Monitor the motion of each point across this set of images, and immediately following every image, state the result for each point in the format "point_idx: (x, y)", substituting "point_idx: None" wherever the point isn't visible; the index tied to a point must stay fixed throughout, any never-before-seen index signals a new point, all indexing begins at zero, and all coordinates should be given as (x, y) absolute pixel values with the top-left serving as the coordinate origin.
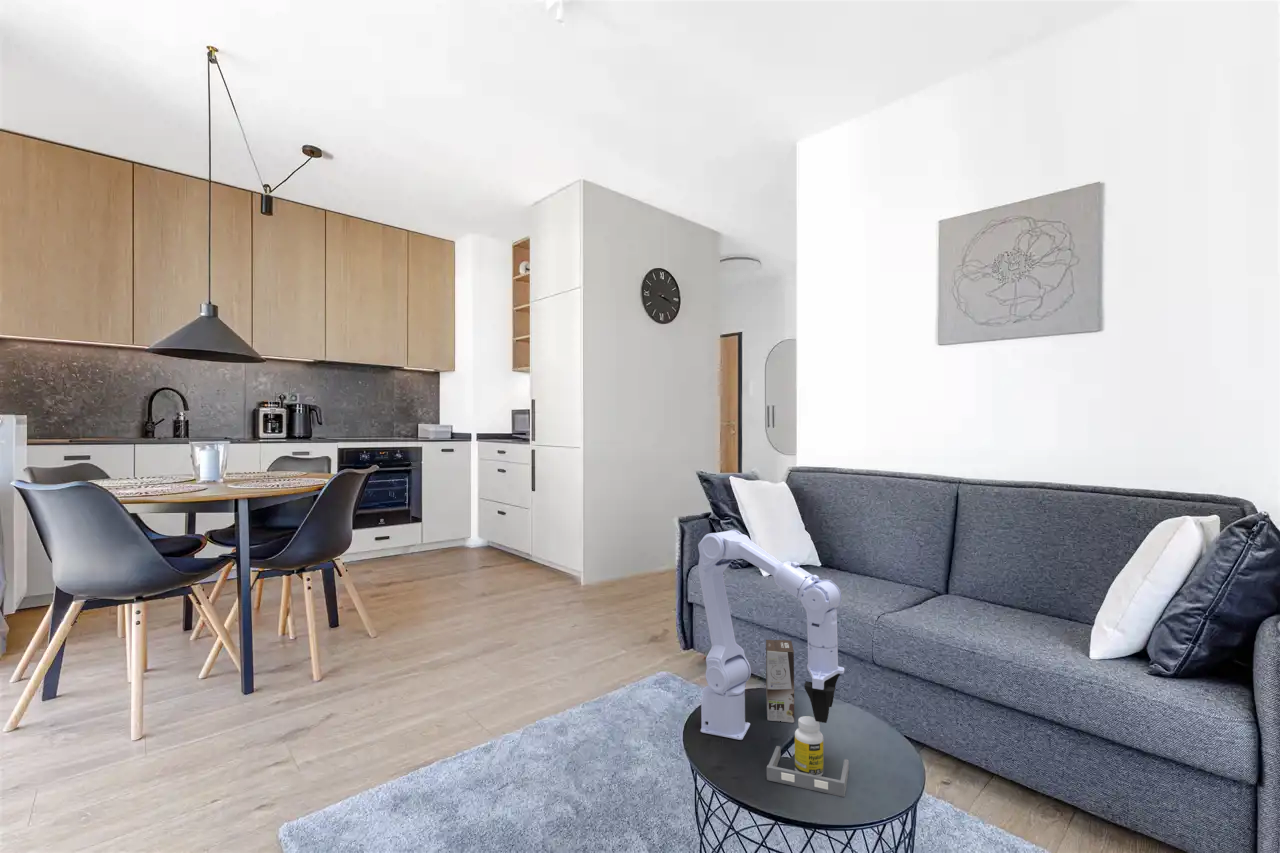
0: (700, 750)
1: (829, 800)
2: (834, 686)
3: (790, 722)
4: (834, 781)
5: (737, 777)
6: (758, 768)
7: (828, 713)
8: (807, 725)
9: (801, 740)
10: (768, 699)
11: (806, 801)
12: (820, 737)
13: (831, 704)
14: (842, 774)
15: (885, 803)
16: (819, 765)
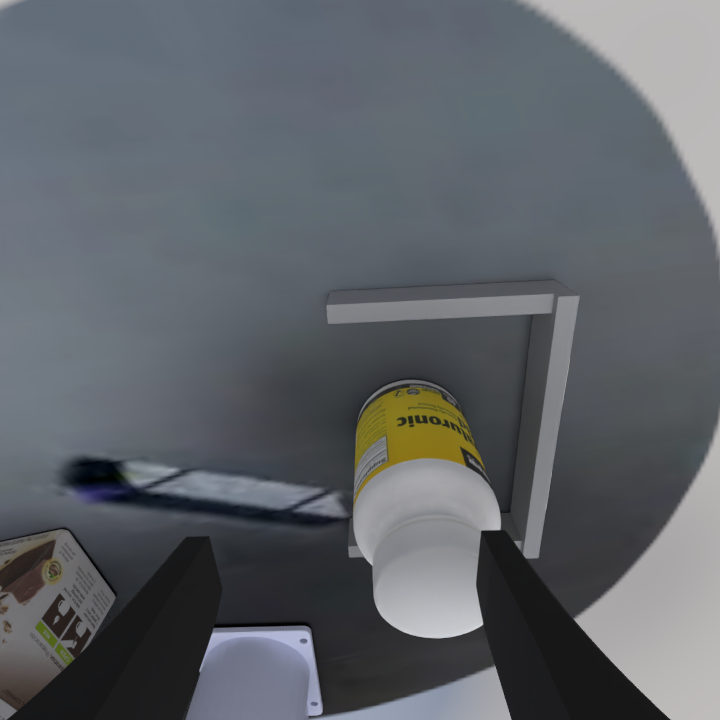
0: (421, 683)
1: (593, 328)
2: (110, 703)
3: (73, 538)
4: (572, 336)
5: None
6: None
7: (516, 578)
8: None
9: None
10: None
11: (621, 397)
12: (456, 483)
13: (202, 553)
14: (477, 312)
15: (552, 99)
16: (449, 408)
